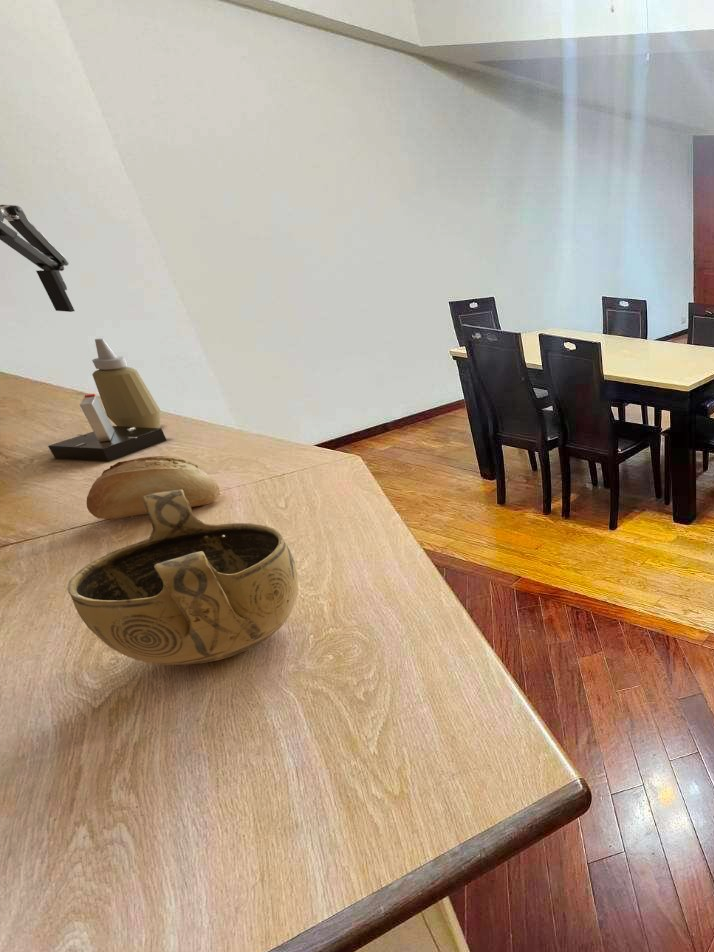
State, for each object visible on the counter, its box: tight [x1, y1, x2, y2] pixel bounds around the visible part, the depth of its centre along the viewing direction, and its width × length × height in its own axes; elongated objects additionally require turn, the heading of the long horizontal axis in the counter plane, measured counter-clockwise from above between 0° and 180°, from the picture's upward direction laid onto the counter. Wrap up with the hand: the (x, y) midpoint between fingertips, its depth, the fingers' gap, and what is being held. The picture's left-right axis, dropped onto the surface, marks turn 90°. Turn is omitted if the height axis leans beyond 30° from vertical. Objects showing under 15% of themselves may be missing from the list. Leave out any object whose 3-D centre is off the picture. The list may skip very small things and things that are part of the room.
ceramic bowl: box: [66, 490, 299, 666], centre depth 61 cm, size 22×17×15 cm
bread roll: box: [86, 455, 221, 520], centre depth 90 cm, size 10×15×8 cm, turn 132°
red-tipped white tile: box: [79, 393, 114, 442], centre depth 109 cm, size 7×2×7 cm, turn 38°
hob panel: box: [47, 425, 167, 462], centre depth 112 cm, size 12×11×3 cm
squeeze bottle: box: [91, 338, 162, 428], centre depth 118 cm, size 8×8×18 cm
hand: (23, 317), depth 100 cm, fingers open, 13 cm apart
